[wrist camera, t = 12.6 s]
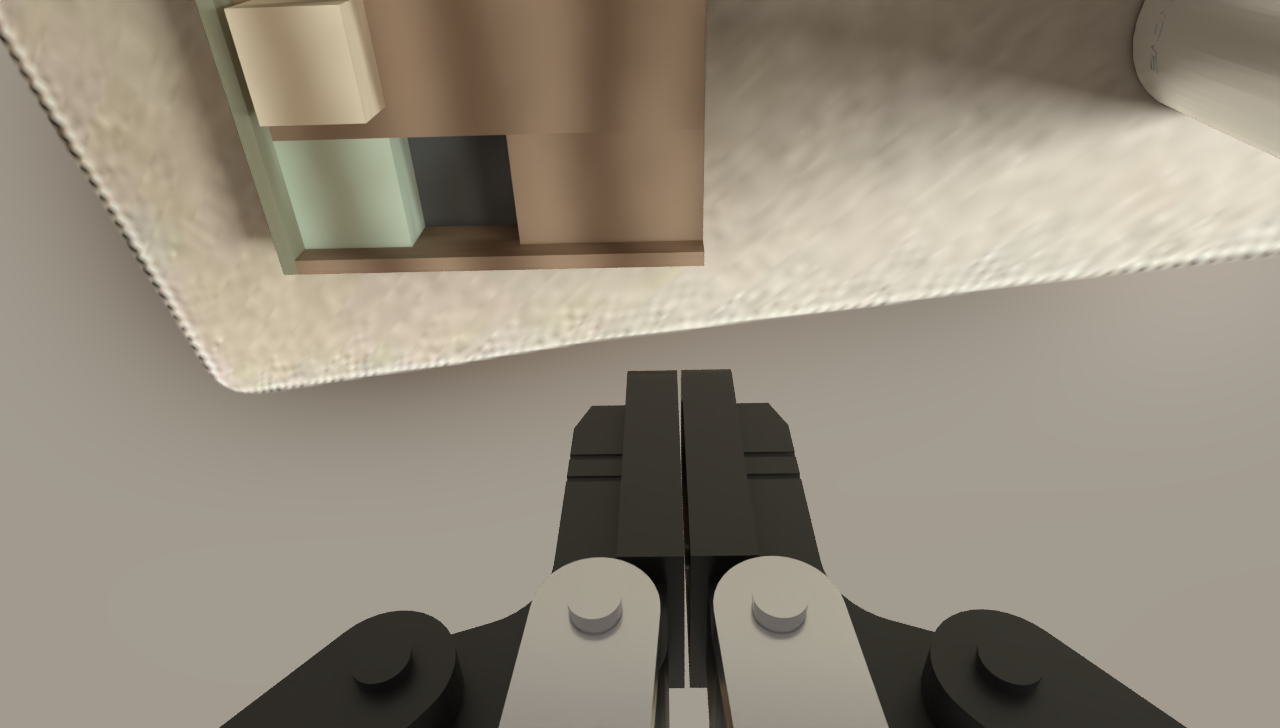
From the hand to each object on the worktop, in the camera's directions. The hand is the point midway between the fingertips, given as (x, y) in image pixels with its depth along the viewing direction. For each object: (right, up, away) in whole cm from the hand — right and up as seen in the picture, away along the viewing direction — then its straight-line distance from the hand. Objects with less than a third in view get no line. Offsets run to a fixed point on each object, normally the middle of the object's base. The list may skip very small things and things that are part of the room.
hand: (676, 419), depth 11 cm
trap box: (-8, +17, +27) cm, 33 cm away
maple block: (-16, +16, +25) cm, 33 cm away
